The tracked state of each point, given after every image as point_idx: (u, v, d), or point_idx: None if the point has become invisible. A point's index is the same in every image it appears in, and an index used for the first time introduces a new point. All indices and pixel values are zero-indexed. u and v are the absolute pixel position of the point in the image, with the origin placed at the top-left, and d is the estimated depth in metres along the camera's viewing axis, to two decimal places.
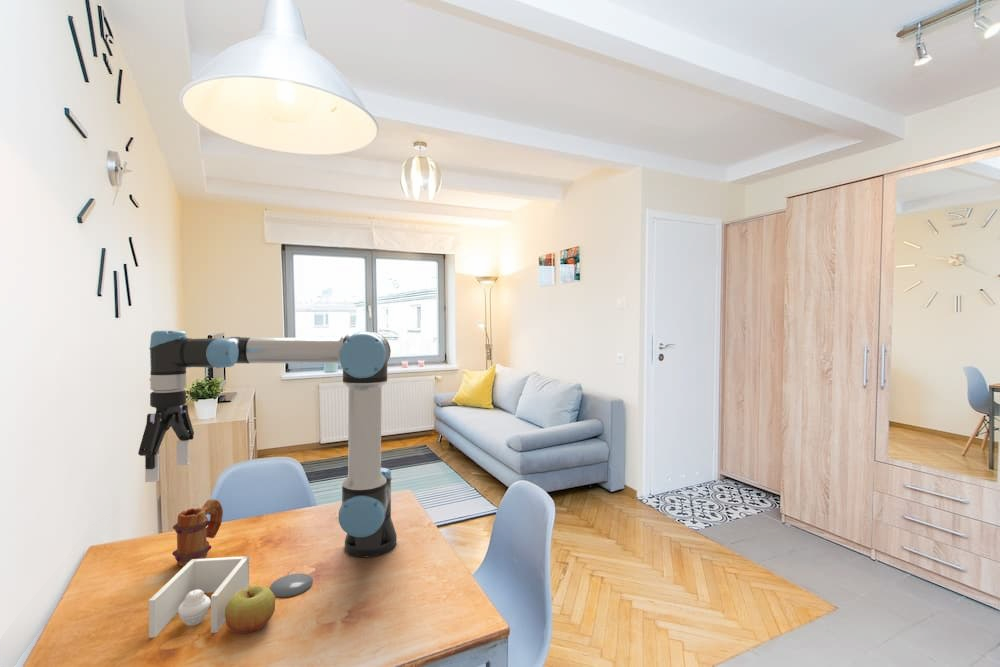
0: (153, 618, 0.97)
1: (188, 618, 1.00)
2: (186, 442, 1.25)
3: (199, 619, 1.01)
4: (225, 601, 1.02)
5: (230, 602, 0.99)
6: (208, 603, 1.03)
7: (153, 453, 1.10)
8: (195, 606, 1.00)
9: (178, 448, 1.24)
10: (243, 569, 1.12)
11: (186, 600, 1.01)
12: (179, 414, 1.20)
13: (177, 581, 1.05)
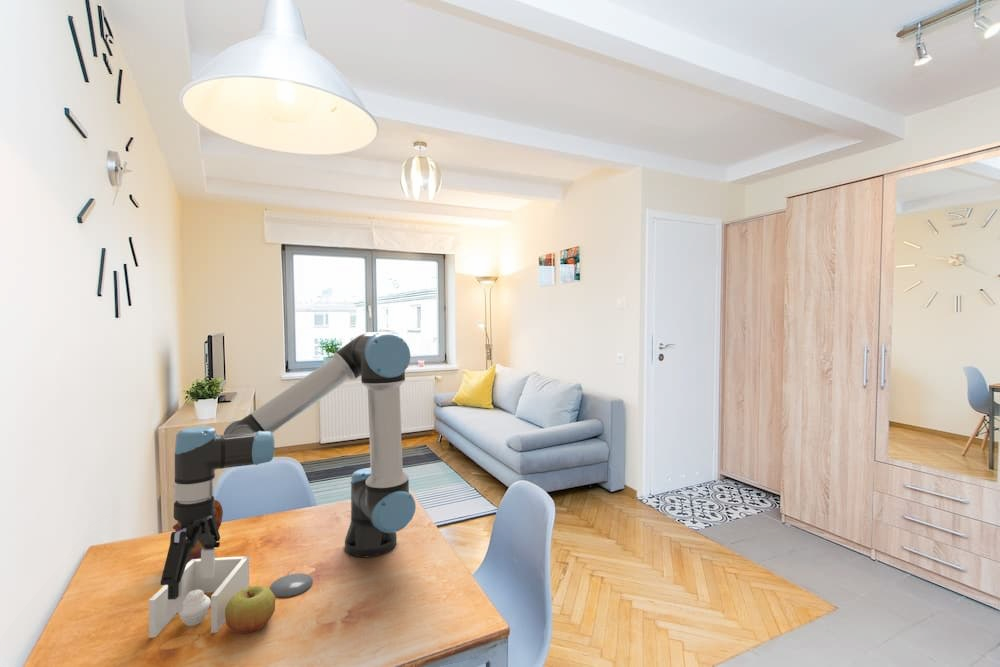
0: (153, 618, 0.97)
1: (188, 618, 1.00)
2: (212, 551, 1.08)
3: (199, 619, 1.01)
4: (225, 601, 1.02)
5: (230, 602, 0.99)
6: (208, 603, 1.03)
7: (177, 580, 0.94)
8: (195, 606, 1.00)
9: (202, 558, 1.08)
10: (243, 569, 1.12)
11: (186, 600, 1.01)
12: (206, 524, 1.03)
13: None
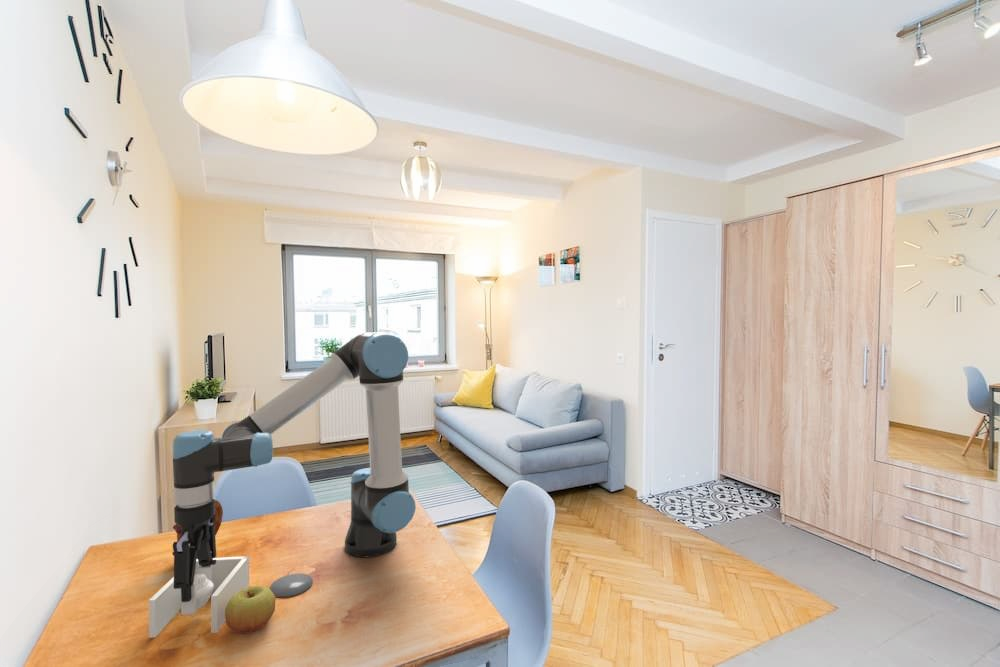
0: (153, 618, 0.97)
1: None
2: (208, 569, 1.05)
3: (202, 602, 1.01)
4: (225, 601, 1.02)
5: (230, 602, 0.99)
6: (211, 587, 1.03)
7: (190, 585, 0.98)
8: (198, 590, 1.01)
9: None
10: (243, 569, 1.12)
11: None
12: (207, 527, 1.04)
13: None
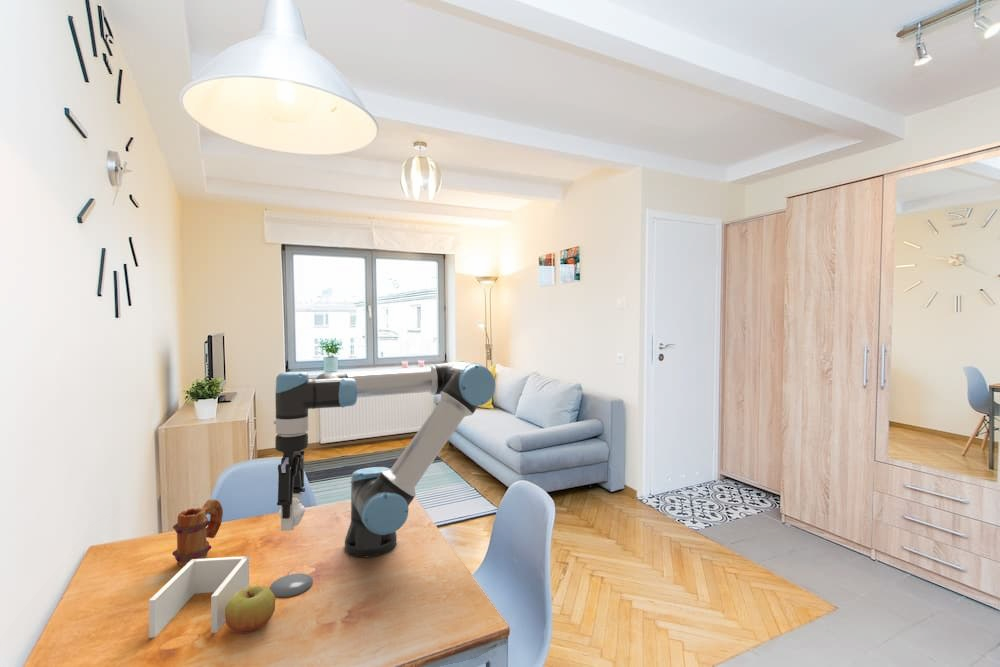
0: (153, 618, 0.97)
1: None
2: (299, 495, 1.19)
3: (297, 522, 1.15)
4: (225, 601, 1.02)
5: (230, 602, 0.99)
6: (304, 509, 1.17)
7: (290, 503, 1.12)
8: (294, 510, 1.15)
9: None
10: (243, 569, 1.12)
11: None
12: (301, 457, 1.18)
13: (177, 581, 1.05)
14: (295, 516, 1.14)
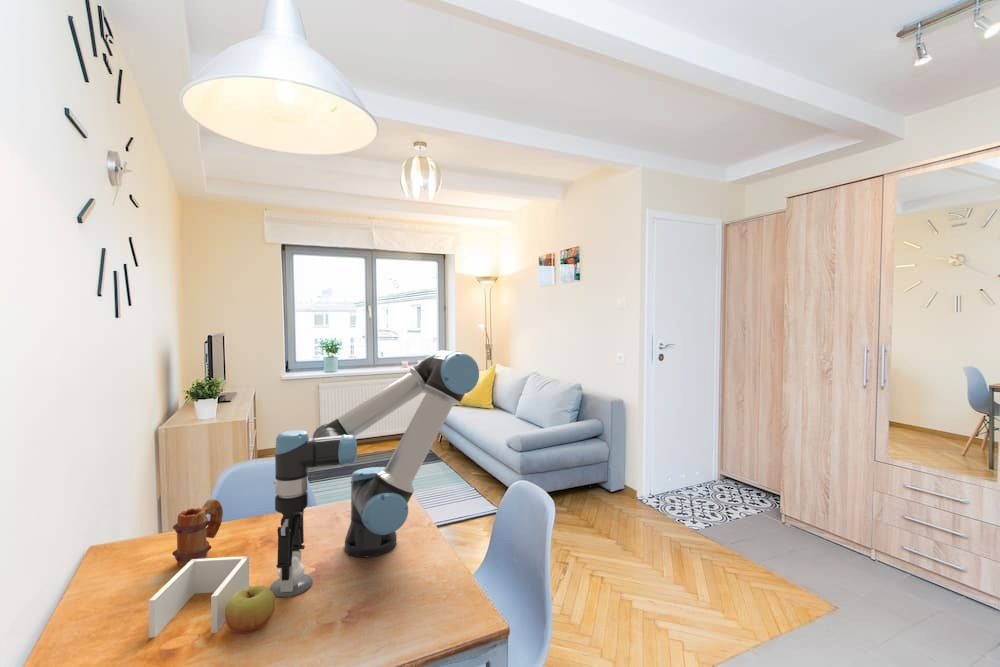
0: (153, 618, 0.97)
1: None
2: (299, 553, 1.20)
3: (296, 581, 1.15)
4: (225, 601, 1.02)
5: (230, 602, 0.99)
6: (303, 568, 1.17)
7: (289, 565, 1.12)
8: (294, 570, 1.15)
9: None
10: (243, 569, 1.12)
11: None
12: (300, 516, 1.18)
13: (177, 581, 1.05)
14: (294, 576, 1.14)
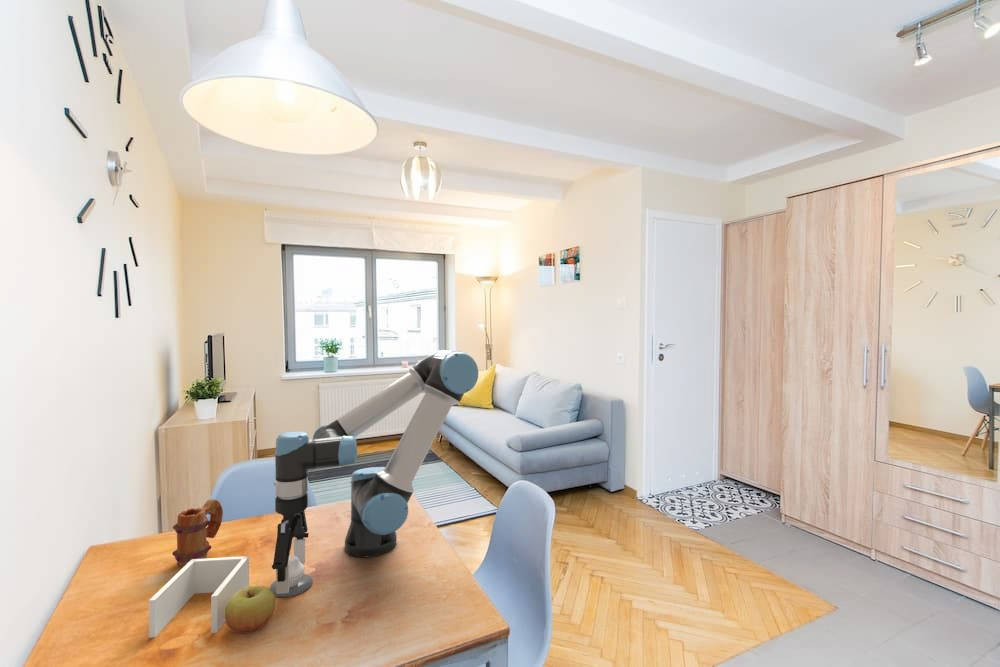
0: (153, 618, 0.97)
1: None
2: (303, 541, 1.23)
3: (296, 581, 1.15)
4: (225, 601, 1.02)
5: (230, 602, 0.99)
6: (303, 568, 1.17)
7: (285, 565, 1.08)
8: (294, 570, 1.15)
9: (295, 547, 1.23)
10: (243, 569, 1.12)
11: None
12: (301, 517, 1.18)
13: (177, 581, 1.05)
14: (294, 576, 1.14)
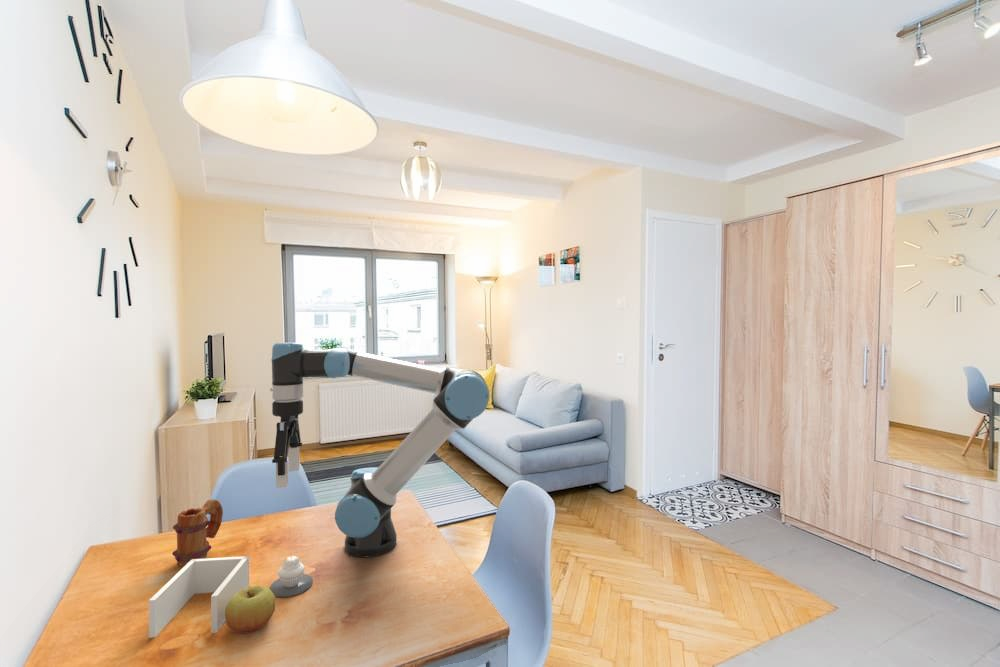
0: (153, 618, 0.97)
1: (288, 580, 1.14)
2: (297, 449, 1.30)
3: (296, 581, 1.15)
4: (225, 601, 1.02)
5: (230, 602, 0.99)
6: (303, 568, 1.17)
7: (285, 460, 1.16)
8: (294, 570, 1.15)
9: (290, 455, 1.30)
10: (243, 569, 1.12)
11: (285, 565, 1.15)
12: (296, 422, 1.25)
13: (177, 581, 1.05)
14: (294, 576, 1.14)
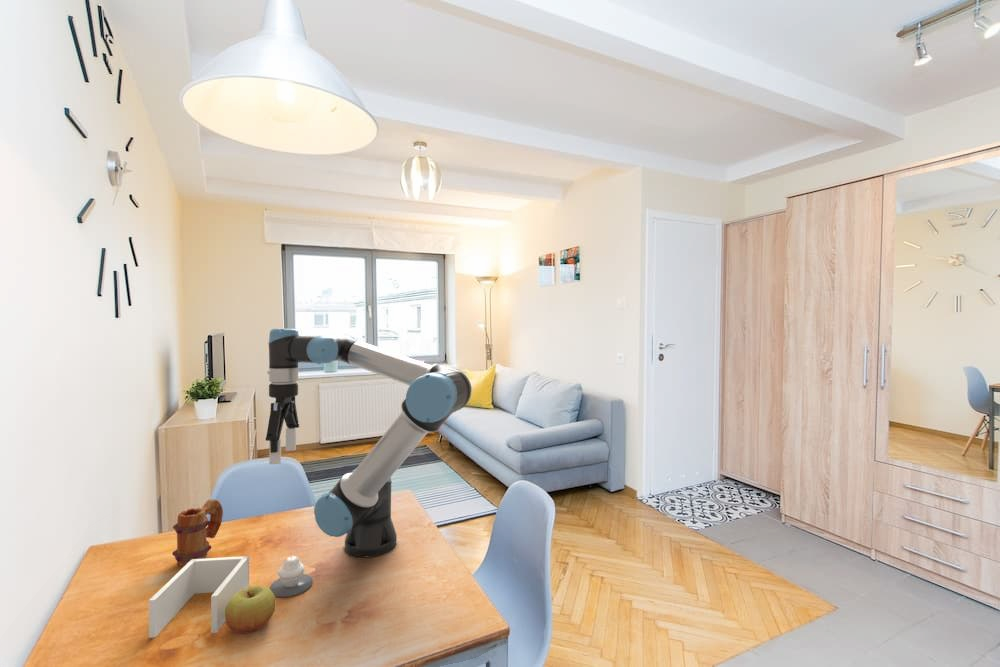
0: (153, 618, 0.97)
1: (288, 580, 1.14)
2: (294, 430, 1.37)
3: (296, 581, 1.15)
4: (225, 601, 1.02)
5: (230, 602, 0.99)
6: (303, 568, 1.17)
7: (277, 438, 1.23)
8: (294, 570, 1.15)
9: (287, 435, 1.37)
10: (243, 569, 1.12)
11: (285, 565, 1.15)
12: (292, 404, 1.32)
13: (177, 581, 1.05)
14: (294, 576, 1.14)
